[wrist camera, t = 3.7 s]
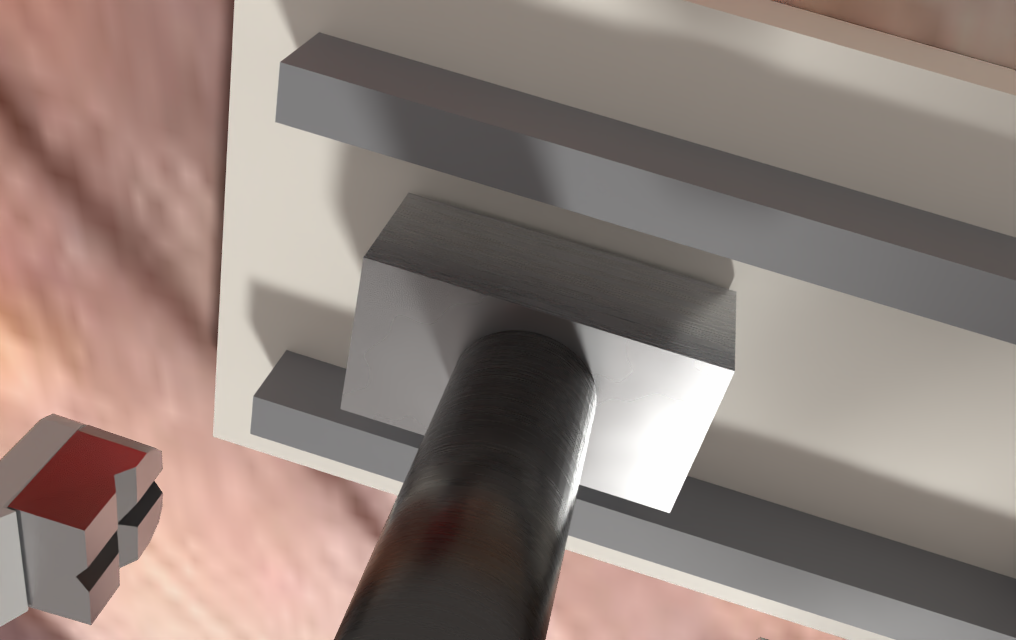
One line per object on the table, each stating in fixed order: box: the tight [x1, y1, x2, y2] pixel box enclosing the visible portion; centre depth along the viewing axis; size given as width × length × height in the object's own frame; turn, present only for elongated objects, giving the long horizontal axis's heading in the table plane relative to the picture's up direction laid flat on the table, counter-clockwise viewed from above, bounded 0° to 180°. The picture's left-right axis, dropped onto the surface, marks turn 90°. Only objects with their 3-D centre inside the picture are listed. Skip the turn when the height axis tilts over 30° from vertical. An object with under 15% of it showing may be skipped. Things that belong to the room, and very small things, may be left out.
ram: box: [334, 193, 736, 640], centre depth 13 cm, size 6×3×10 cm, turn 77°
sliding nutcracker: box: [213, 0, 1016, 640], centre depth 16 cm, size 25×12×6 cm, turn 77°
